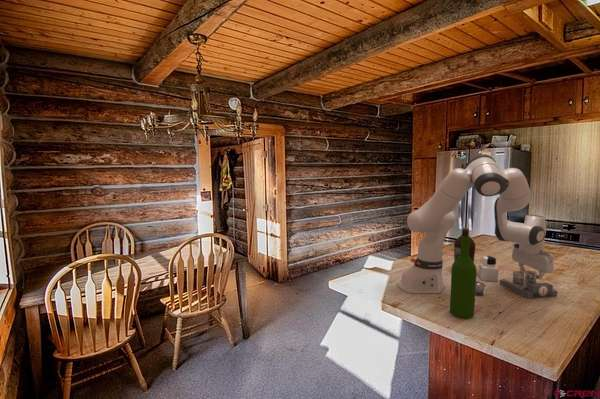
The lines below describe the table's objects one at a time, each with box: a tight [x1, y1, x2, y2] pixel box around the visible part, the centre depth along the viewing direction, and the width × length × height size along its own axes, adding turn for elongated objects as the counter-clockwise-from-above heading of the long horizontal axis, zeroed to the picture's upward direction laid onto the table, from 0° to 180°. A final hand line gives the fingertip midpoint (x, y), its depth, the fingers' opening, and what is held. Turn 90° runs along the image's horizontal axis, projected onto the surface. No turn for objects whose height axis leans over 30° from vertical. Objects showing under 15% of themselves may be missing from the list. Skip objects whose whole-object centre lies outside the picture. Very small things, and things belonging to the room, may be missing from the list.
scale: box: [499, 278, 558, 299], centre depth 153 cm, size 15×18×6 cm
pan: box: [502, 276, 540, 289], centre depth 155 cm, size 13×12×1 cm
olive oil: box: [453, 227, 476, 264], centre depth 178 cm, size 11×11×25 cm
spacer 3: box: [524, 269, 538, 284], centre depth 155 cm, size 4×4×5 cm
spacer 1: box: [475, 280, 486, 297], centre depth 150 cm, size 4×4×5 cm
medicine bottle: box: [478, 255, 499, 283], centre depth 168 cm, size 7×7×12 cm
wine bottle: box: [449, 235, 478, 320], centre depth 129 cm, size 9×9×32 cm
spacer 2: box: [512, 270, 525, 284], centre depth 154 cm, size 4×4×5 cm
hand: (530, 275), depth 155 cm, fingers open, 8 cm apart
